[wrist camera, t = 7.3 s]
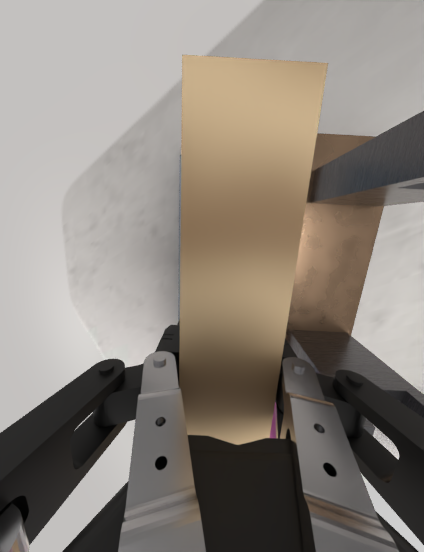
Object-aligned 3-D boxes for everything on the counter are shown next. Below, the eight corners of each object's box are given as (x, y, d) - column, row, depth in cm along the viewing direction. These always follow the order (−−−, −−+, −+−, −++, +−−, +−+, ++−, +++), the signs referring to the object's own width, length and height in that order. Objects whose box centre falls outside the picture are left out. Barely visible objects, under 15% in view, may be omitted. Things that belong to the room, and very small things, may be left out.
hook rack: (307, 140, 20) (476, -14, 7) (387, 144, 20) (699, 0, 7) (273, 364, 26) (329, 494, 13) (333, 367, 26) (445, 499, 14)
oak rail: (195, 126, 9) (182, 54, 5) (279, 131, 9) (327, 63, 5) (186, 468, 15) (177, 555, 11) (240, 470, 15) (250, 558, 11)
